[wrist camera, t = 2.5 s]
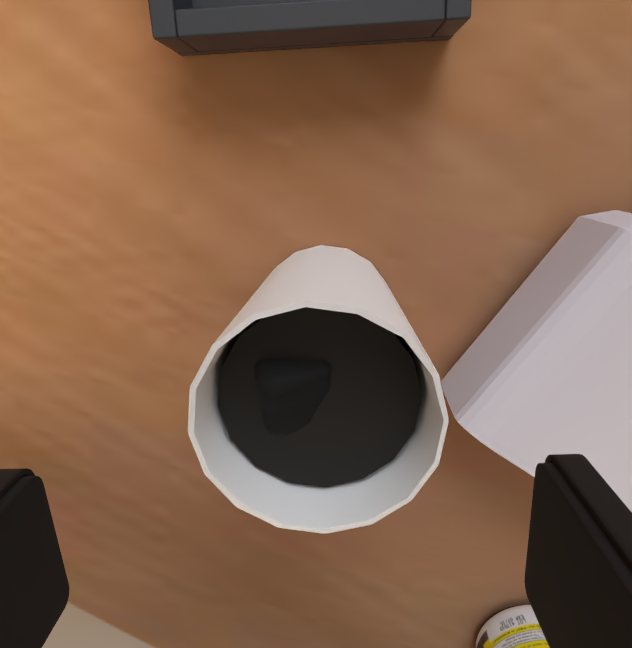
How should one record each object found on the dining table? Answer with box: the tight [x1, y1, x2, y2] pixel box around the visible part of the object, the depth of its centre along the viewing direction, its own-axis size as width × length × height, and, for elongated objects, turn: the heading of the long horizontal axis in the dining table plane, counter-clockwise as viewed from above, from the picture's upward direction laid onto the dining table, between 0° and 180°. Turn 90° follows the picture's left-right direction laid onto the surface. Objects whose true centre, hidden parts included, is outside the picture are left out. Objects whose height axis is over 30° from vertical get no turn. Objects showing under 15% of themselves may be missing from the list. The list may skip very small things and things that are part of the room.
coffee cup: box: [188, 245, 449, 534], centre depth 18 cm, size 7×7×10 cm
